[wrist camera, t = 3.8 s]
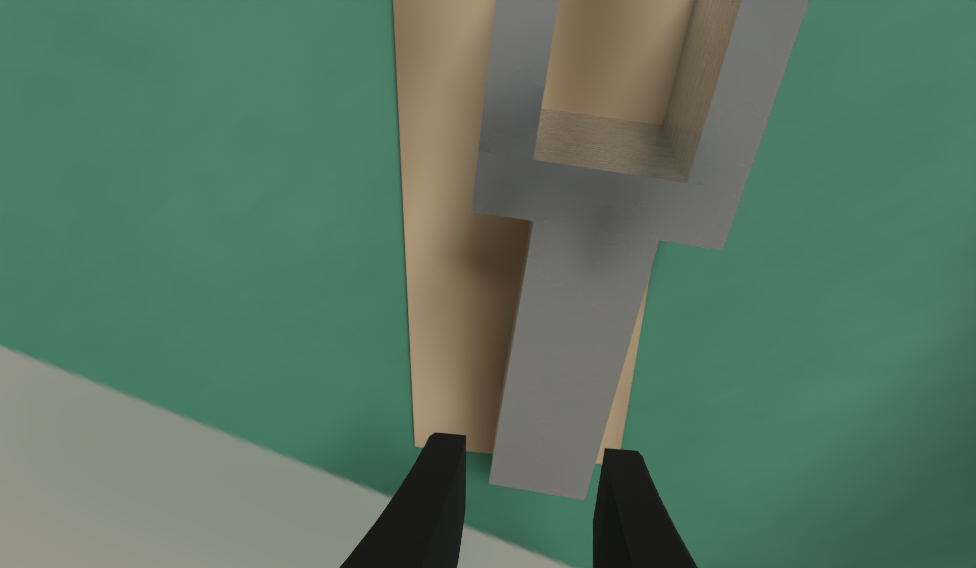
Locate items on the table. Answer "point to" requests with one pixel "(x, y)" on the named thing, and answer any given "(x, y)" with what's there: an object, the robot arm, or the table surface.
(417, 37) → the cork mat
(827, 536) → the table surface
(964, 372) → the table surface
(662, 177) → the steel fork
